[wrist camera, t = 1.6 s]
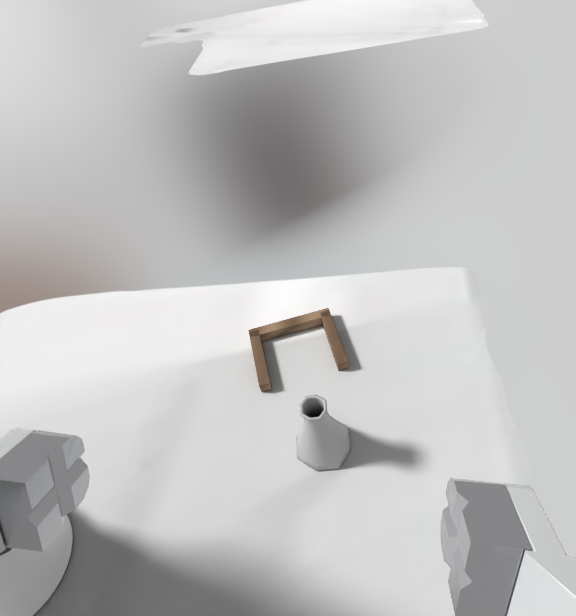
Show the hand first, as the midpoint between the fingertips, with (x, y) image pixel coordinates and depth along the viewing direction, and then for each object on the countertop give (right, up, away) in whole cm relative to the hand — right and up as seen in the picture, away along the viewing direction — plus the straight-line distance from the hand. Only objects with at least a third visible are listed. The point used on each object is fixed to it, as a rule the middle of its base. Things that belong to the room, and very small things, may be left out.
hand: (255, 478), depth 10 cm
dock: (+2, -3, +57) cm, 57 cm away
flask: (+5, -14, +47) cm, 50 cm away
